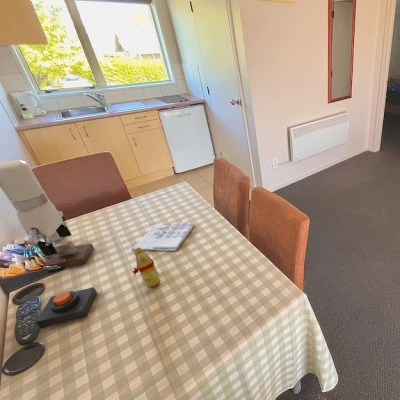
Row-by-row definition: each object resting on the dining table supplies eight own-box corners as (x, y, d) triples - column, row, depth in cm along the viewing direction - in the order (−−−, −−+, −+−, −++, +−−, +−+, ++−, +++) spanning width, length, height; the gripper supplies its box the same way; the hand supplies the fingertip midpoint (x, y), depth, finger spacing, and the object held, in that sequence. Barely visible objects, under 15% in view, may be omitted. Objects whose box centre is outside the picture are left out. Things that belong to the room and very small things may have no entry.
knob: (59, 257, 105) (52, 246, 103) (61, 253, 107) (55, 243, 104) (76, 253, 107) (69, 243, 104) (78, 250, 109) (72, 240, 106)
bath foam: (49, 242, 118) (24, 204, 108) (69, 237, 121) (46, 199, 111) (47, 251, 113) (20, 212, 103) (68, 245, 116) (44, 206, 106)
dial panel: (48, 271, 103) (44, 265, 101) (60, 255, 111) (56, 249, 109) (85, 264, 106) (81, 258, 105) (94, 248, 114) (91, 242, 113)
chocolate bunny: (155, 267, 104) (142, 237, 97) (163, 283, 97) (149, 252, 90) (135, 276, 100) (120, 245, 93) (142, 293, 93) (126, 261, 86)
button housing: (40, 328, 82) (31, 318, 79) (56, 303, 90) (48, 292, 88) (86, 317, 85) (79, 306, 83) (97, 293, 93) (91, 283, 91)
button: (53, 307, 83) (50, 303, 82) (59, 297, 86) (56, 293, 86) (69, 303, 84) (66, 299, 83) (74, 294, 88) (71, 290, 87)
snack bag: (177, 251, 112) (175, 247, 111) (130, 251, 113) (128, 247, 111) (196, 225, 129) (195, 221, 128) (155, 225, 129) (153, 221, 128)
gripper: (32, 190, 87) (58, 232, 95) (-5, 218, 72) (30, 264, 81) (60, 186, 89) (83, 228, 97) (29, 213, 74) (59, 259, 83)
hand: (59, 244), depth 89 cm, fingers open, 9 cm apart
